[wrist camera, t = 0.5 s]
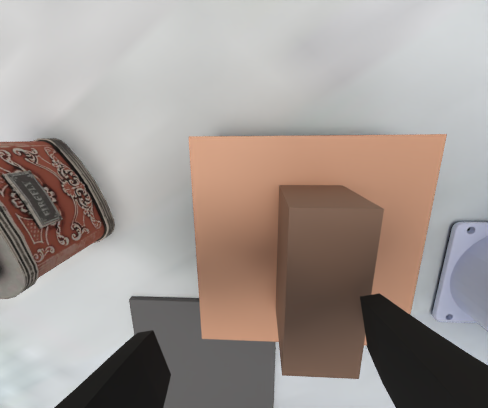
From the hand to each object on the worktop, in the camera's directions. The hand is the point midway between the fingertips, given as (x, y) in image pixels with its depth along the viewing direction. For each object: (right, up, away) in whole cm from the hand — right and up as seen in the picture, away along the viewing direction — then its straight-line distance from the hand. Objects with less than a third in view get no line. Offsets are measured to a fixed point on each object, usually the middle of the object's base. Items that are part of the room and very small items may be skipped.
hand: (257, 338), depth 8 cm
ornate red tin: (-13, +6, +10) cm, 17 cm away
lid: (+3, +2, +5) cm, 6 cm away
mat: (-4, -9, +13) cm, 16 cm away
